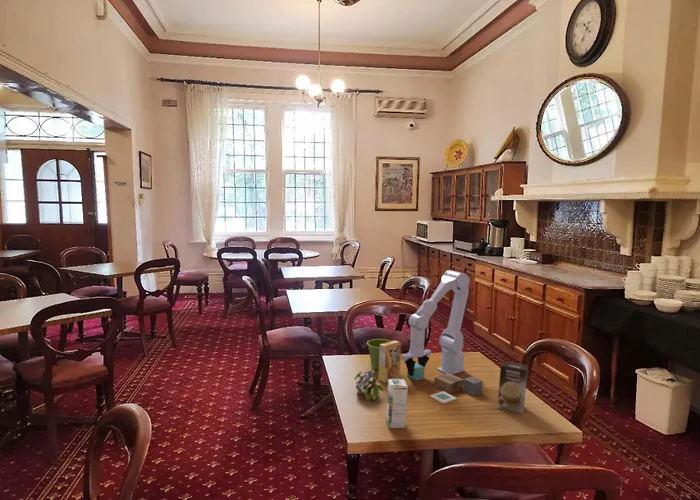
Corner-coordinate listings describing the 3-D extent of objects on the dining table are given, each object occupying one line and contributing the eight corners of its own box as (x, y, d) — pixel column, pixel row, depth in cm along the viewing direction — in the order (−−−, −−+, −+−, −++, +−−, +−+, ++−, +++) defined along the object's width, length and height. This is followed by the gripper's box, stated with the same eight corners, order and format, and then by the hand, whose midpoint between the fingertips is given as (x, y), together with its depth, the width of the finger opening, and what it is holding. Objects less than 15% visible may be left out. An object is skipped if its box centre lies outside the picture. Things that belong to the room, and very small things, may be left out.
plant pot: (378, 360, 201) (379, 337, 200) (398, 368, 193) (399, 343, 191) (360, 366, 193) (361, 342, 192) (379, 375, 185) (380, 349, 184)
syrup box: (385, 419, 147) (387, 378, 146) (402, 419, 148) (404, 378, 146) (388, 428, 142) (390, 385, 140) (406, 428, 142) (408, 385, 140)
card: (443, 392, 170) (443, 390, 170) (456, 399, 164) (456, 397, 164) (429, 396, 166) (430, 394, 166) (443, 403, 160) (443, 402, 160)
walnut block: (447, 382, 180) (447, 372, 180) (462, 389, 174) (463, 379, 174) (434, 386, 176) (434, 377, 175) (449, 393, 169) (450, 384, 169)
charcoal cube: (471, 388, 174) (472, 376, 174) (482, 393, 170) (482, 380, 170) (463, 391, 172) (464, 379, 171) (473, 396, 167) (474, 383, 167)
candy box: (393, 375, 185) (394, 340, 184) (400, 378, 182) (401, 342, 180) (377, 379, 180) (379, 343, 178) (384, 383, 177) (386, 346, 175)
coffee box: (496, 408, 158) (499, 365, 156) (498, 401, 164) (501, 359, 162) (523, 414, 154) (527, 370, 152) (524, 406, 160) (528, 364, 158)
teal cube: (416, 374, 187) (416, 362, 187) (424, 378, 183) (424, 366, 182) (407, 376, 184) (407, 364, 184) (415, 380, 180) (415, 368, 180)
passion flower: (358, 407, 167) (352, 376, 172) (386, 402, 168) (379, 370, 173) (358, 403, 157) (352, 369, 162) (388, 397, 158) (380, 364, 163)
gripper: (423, 337, 189) (422, 367, 191) (397, 342, 181) (396, 374, 183) (435, 342, 183) (433, 373, 185) (408, 347, 175) (407, 380, 177)
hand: (415, 374), depth 184 cm, fingers closed on teal cube, 5 cm apart
